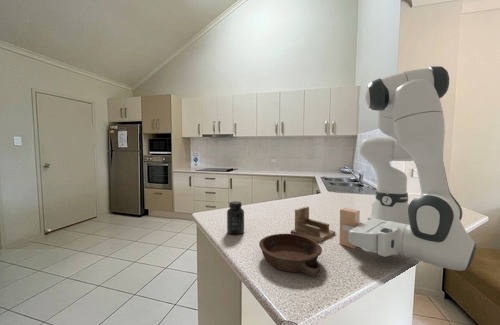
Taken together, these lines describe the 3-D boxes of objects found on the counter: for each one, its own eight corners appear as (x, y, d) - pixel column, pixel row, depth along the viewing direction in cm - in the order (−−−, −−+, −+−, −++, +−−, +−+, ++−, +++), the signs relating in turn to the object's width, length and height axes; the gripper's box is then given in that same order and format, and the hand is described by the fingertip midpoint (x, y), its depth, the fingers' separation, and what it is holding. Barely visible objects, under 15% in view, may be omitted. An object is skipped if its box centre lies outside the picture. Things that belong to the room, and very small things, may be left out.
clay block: (344, 241, 75) (344, 207, 74) (359, 245, 71) (359, 210, 70) (339, 243, 72) (340, 209, 72) (354, 248, 68) (355, 212, 68)
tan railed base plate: (308, 226, 90) (308, 205, 90) (335, 234, 81) (335, 211, 81) (291, 232, 83) (291, 210, 82) (318, 242, 74) (318, 217, 73)
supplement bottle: (247, 230, 85) (247, 201, 85) (239, 236, 79) (239, 205, 79) (232, 228, 88) (232, 199, 88) (223, 233, 82) (223, 203, 81)
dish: (285, 241, 76) (285, 227, 75) (341, 268, 57) (341, 250, 57) (244, 253, 66) (244, 237, 66) (295, 291, 48) (295, 270, 47)
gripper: (404, 219, 68) (359, 210, 79) (382, 235, 55) (332, 222, 65) (403, 238, 68) (359, 227, 79) (382, 258, 55) (332, 242, 65)
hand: (346, 225), depth 72 cm, fingers closed on clay block, 3 cm apart
